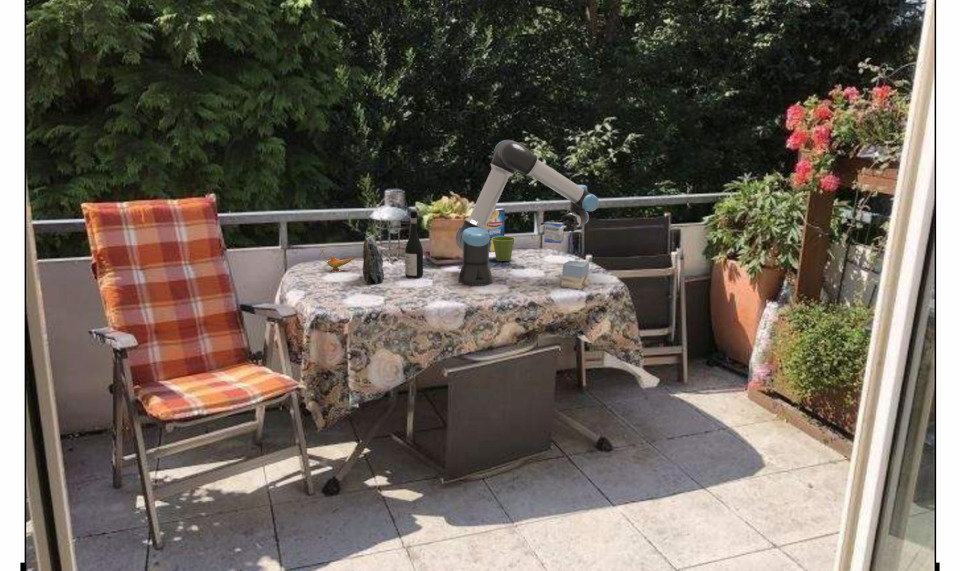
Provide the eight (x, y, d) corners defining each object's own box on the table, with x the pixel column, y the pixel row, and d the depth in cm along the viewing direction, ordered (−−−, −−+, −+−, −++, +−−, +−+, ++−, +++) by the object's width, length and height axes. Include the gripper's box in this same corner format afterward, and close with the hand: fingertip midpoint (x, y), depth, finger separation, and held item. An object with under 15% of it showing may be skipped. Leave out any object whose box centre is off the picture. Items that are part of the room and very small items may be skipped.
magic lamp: (358, 272, 359) (357, 248, 357) (318, 272, 358) (317, 249, 355) (359, 268, 366) (358, 245, 363) (320, 269, 364) (319, 246, 361)
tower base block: (580, 289, 336) (581, 278, 335) (561, 286, 340) (561, 275, 339) (588, 284, 344) (588, 273, 342) (569, 282, 348) (569, 271, 347)
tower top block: (582, 278, 335) (582, 266, 334) (562, 275, 339) (562, 264, 337) (588, 273, 343) (589, 262, 342) (569, 271, 347) (569, 260, 345)
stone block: (383, 285, 338) (382, 240, 333) (362, 285, 337) (361, 240, 332) (385, 274, 355) (385, 232, 350) (366, 274, 355) (365, 232, 350)
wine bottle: (413, 279, 347) (413, 213, 339) (401, 276, 352) (400, 211, 345) (426, 276, 353) (426, 211, 345) (414, 273, 358) (414, 209, 350)
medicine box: (543, 242, 340) (544, 222, 337) (546, 240, 344) (547, 221, 341) (561, 243, 337) (561, 224, 335) (563, 241, 341) (564, 222, 339)
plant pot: (503, 256, 395) (503, 235, 392) (519, 260, 387) (520, 238, 384) (486, 260, 387) (486, 237, 384) (502, 264, 379) (503, 241, 376)
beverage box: (504, 250, 409) (504, 209, 403) (485, 252, 404) (486, 210, 399) (498, 248, 415) (498, 207, 409) (479, 249, 410) (480, 208, 405)
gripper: (591, 232, 350) (572, 241, 331) (548, 228, 360) (527, 236, 340) (592, 215, 348) (573, 223, 329) (548, 211, 358) (528, 219, 338)
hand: (550, 230), depth 335 cm, fingers closed on medicine box, 8 cm apart
